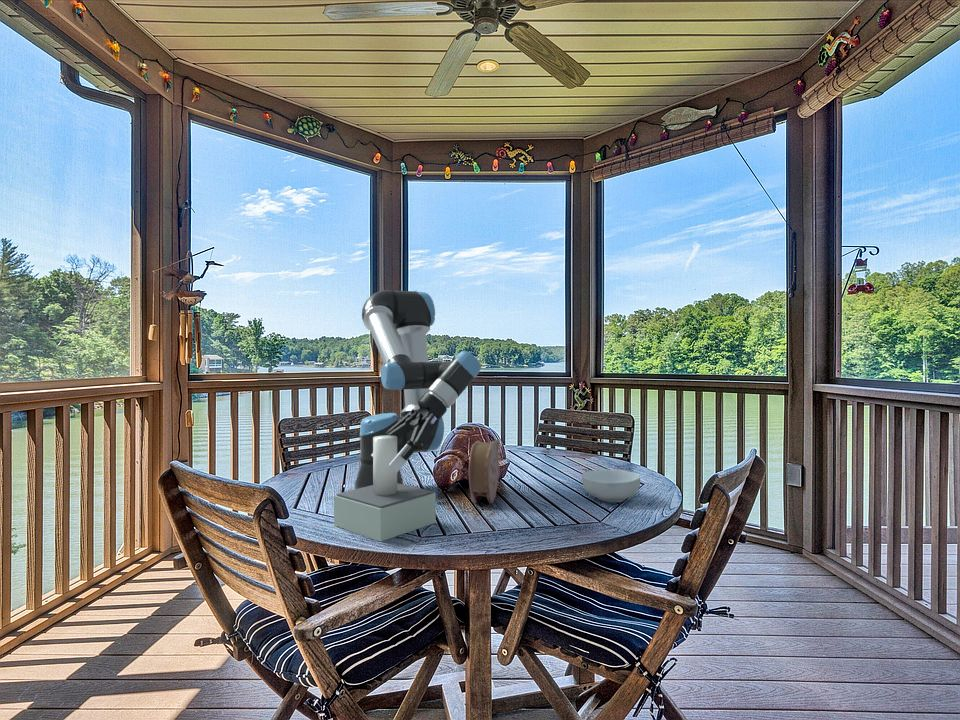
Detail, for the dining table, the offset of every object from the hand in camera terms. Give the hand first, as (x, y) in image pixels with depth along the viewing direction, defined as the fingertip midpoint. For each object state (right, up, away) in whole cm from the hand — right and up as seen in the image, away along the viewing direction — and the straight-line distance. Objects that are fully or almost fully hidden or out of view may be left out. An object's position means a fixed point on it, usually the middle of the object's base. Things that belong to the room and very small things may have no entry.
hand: (383, 463), depth 139 cm
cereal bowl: (+63, -15, +24) cm, 69 cm away
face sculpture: (+26, -15, +25) cm, 39 cm away
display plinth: (0, -16, +1) cm, 15 cm away
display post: (0, -7, +1) cm, 7 cm away
